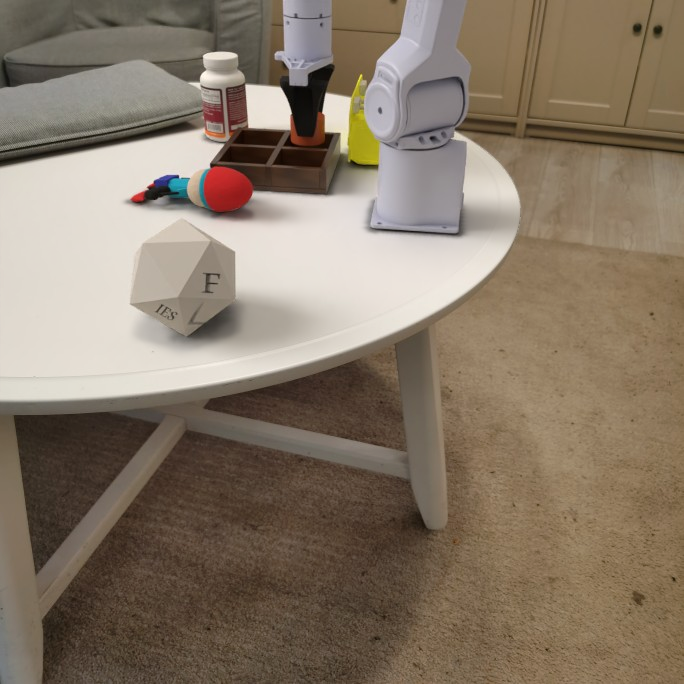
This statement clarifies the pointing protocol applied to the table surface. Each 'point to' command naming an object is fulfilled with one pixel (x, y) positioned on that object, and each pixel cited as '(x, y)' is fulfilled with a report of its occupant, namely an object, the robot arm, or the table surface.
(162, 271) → the die
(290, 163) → the grid
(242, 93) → the pill bottle
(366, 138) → the yellow toy chassis
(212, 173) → the toy figure
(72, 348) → the table surface
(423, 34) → the robot arm
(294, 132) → the orange short cylinder
